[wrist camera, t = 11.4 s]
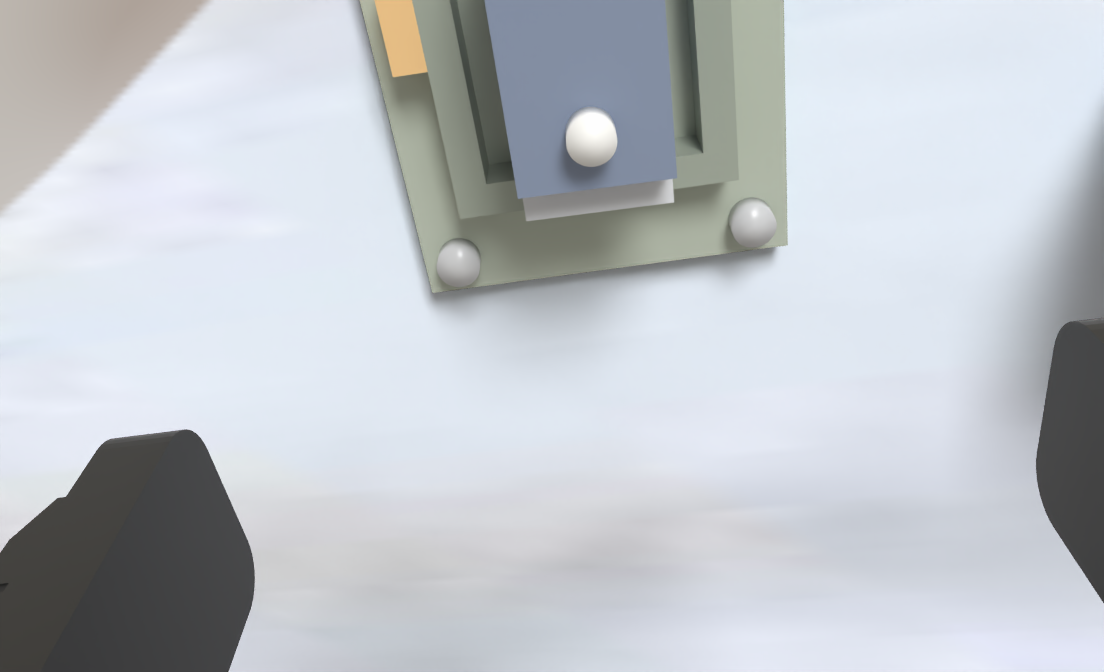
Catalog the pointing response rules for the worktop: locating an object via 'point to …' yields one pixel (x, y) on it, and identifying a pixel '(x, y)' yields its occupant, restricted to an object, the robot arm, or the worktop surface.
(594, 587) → the worktop surface
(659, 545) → the worktop surface
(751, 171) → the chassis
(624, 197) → the servo
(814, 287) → the worktop surface
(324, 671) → the worktop surface
